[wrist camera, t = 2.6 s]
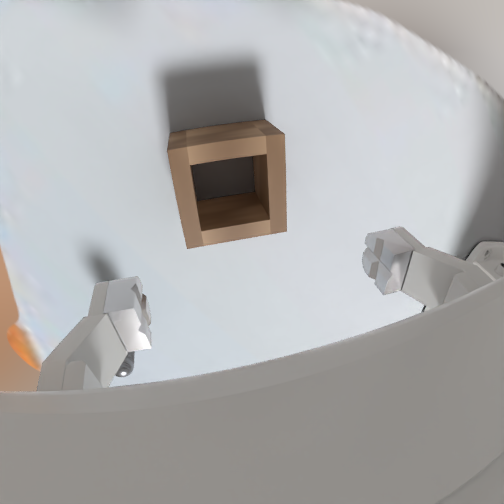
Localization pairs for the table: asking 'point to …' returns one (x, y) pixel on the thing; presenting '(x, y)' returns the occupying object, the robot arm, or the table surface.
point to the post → (126, 365)
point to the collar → (235, 206)
